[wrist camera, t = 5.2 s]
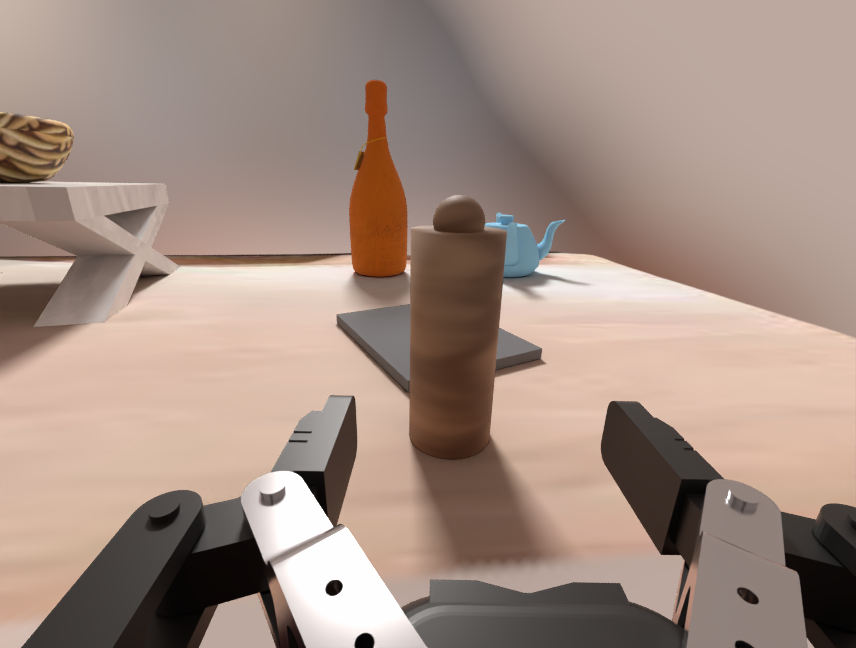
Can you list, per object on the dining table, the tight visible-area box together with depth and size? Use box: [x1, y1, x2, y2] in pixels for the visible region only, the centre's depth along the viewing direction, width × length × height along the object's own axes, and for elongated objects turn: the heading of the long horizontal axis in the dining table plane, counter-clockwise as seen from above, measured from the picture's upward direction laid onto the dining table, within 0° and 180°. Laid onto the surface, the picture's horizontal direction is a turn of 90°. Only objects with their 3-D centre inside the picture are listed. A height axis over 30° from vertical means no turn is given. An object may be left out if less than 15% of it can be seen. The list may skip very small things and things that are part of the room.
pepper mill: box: [409, 195, 507, 459], centre depth 24 cm, size 5×5×15 cm
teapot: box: [485, 213, 565, 277], centre depth 73 cm, size 15×15×10 cm
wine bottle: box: [349, 80, 407, 277], centre depth 66 cm, size 10×10×30 cm
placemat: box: [337, 304, 542, 392], centre depth 41 cm, size 14×18×1 cm
